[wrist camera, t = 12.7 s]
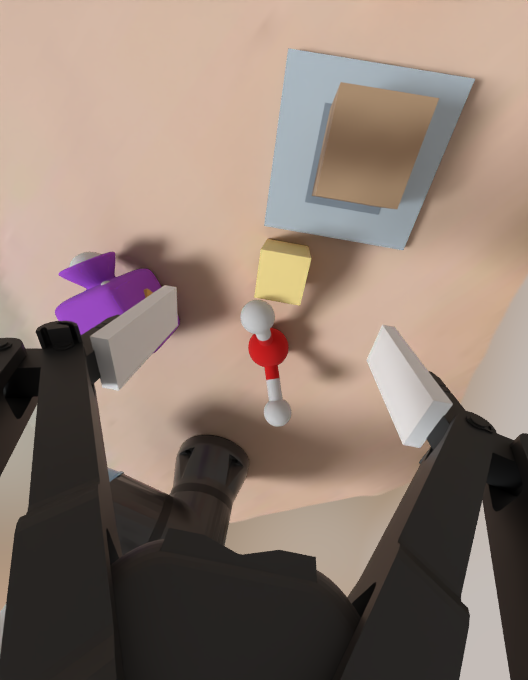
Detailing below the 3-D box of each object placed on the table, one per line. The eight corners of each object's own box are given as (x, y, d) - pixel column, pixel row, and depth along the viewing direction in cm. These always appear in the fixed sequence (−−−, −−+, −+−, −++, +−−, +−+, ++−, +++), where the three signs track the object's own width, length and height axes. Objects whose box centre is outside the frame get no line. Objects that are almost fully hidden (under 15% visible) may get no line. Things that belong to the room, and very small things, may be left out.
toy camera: (126, 229, 31) (63, 241, 23) (195, 315, 36) (164, 352, 28) (77, 272, 35) (6, 297, 26) (145, 345, 40) (104, 385, 32)
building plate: (399, 248, 29) (403, 250, 28) (265, 224, 29) (264, 225, 28) (466, 84, 22) (476, 78, 21) (288, 55, 22) (288, 47, 21)
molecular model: (295, 382, 41) (295, 432, 32) (262, 384, 42) (253, 433, 33) (280, 276, 32) (274, 305, 24) (239, 282, 33) (219, 312, 25)
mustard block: (298, 285, 33) (299, 305, 27) (261, 278, 33) (254, 297, 27) (308, 246, 30) (311, 258, 24) (267, 238, 30) (260, 249, 24)
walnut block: (377, 207, 26) (397, 209, 21) (311, 195, 26) (315, 195, 21) (406, 120, 23) (439, 98, 17) (330, 108, 23) (340, 81, 17)
